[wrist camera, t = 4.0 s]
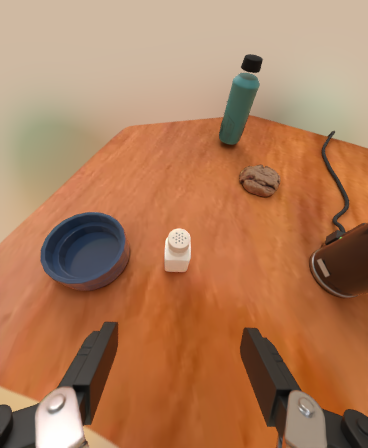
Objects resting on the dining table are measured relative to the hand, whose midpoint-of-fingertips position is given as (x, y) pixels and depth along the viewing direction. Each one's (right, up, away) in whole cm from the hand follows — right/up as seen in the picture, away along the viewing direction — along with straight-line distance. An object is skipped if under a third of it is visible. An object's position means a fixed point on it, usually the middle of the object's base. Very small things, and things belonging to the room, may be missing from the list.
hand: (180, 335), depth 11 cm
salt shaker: (-1, 0, +22) cm, 22 cm away
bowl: (-16, +1, +21) cm, 26 cm away
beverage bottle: (+13, +32, +43) cm, 55 cm away
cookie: (+19, +18, +35) cm, 44 cm away
